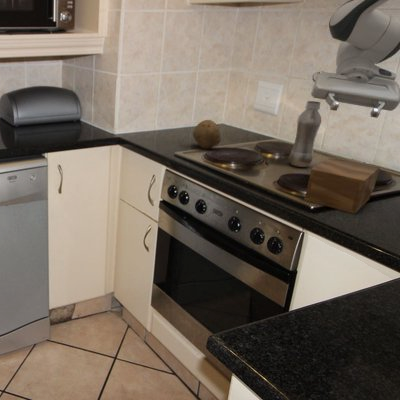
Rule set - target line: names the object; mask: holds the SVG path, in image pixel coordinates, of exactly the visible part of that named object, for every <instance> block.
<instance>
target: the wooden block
mask: <svg viewBox="0 0 400 400" xmlns="http://www.w3.org/2000/svg"><path fill="white" fill-rule="evenodd" d="M378 170H379V171H380V169H379V168H375V167H370V166H365V165H361V164H356V163H351V162H346V161H341V160H336V158H332V157H328V158H327V159H325V160H323V161H322V162H320V163H319V164H317V165H315V166H314V167H313V168H311V170H310V175H309V178H308V183H307V186H306V191H305V194H304V199H303V201H306V202H310V203H314V204H317V205H320V206H323V207H324V206H325V207H328V208H332V209H335V210H339V211H343V212H346V213H351V214H356V213H357V212H358V211H359V210H360V209H361V208H362V207H363V206H364V205H365V204H366V203H367V202H368V201H370V199H371V195H372V192H373V191H372V189H373V186H374V183H375V184H376V182H375V179H376V176H377V173H378ZM378 174H379V173H378ZM377 177H378V176H377ZM376 180H377V179H376ZM374 187H375V186H374ZM373 190H374V189H373Z"/></svg>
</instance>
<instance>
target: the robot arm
mask: <svg viewBox="0 0 400 400" xmlns="http://www.w3.org/2000/svg"><path fill="white" fill-rule="evenodd" d="M388 1H389V0H348V1H346V2H345V3H343V4H342V5H341V6H340V7H338V8H337V9H336V10H335V12H333V14H332V16H331V17H330V19H329V22H328V28H329V32H330V35H331V37H332V39H334V40H336V41H340V43H339V45H338V47H337V51H336V57H335V66H336V69H335V73H334V72H326V71H321V70H320V71H318V72H314V73H313V74H312V82H314V83H313V85H312V88H311V91H310V92H311V93H310V95H311V97H312V98H314V99H319V100H324V101H325V102H326V103H327V105H328V106H329V110H330V111H336V112H337V110H338V109H339V107H340V104H341V103H342V104H347V105H353V106H354V105H355V106H360V107H365V108H372V110H371V111H370V113H369V114H370V117H371V118H375V119H377V118H378V117H379V116H380V115H381V111H382V110H383V111H388V112H391V111H392V112H393V111H394V110H395V109H397V108H398V106H399V105H400V85H399V83H398V82H397V81H396V78H397V74H396V73H395V72H393V71H390V70H388V69H385V68H382V67H380V66H378V65H377V64H380V63H383V62H384V61H387V60H389V59H390V58H392V57H393V56H395V55H396V54H397V53H398V52H399V51H400V18H397V17H395V16H393V15H391V14H388V13H386V12H383V11H381V10H379V9H378V8H379V7H381V6H382V5H384V4H385V3H387V2H388Z"/></svg>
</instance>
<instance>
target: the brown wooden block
mask: <svg viewBox="0 0 400 400" xmlns="http://www.w3.org/2000/svg"><path fill="white" fill-rule="evenodd" d="M335 159H336V160H341V161H346V162H351V163H356V164H361V165H365V166H370V167H375V168H379V170H378V173H377V176H376V179H375V183H374V186H373V189H372V192H373V191H374V190H375V189H374V188H375V186H376V183H377V179H378V175H379V174H380V173H379V172H380V169H381V166H378V165H374V164H369V163H366V162H365V163H364V162H359V161H355V160H349V159H344V158H340V157H335Z"/></svg>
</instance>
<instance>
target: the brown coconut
mask: <svg viewBox="0 0 400 400" xmlns="http://www.w3.org/2000/svg"><path fill="white" fill-rule="evenodd" d="M192 135H193V138H194V141H195V142H196V143H197V145H198V146H199V147H200V148H202V149H205V150H207V149H210V148H212V147H214V146H217V145H219V144H220V143H221V142H222V134H221V131H220V128H219V126H218V124H217V123H216V122H215V121H213V120H212V119H204V120H202V121H200V122H199V123H198V124H197V125H196V126H195V128H194V130H193V133H192Z"/></svg>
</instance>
